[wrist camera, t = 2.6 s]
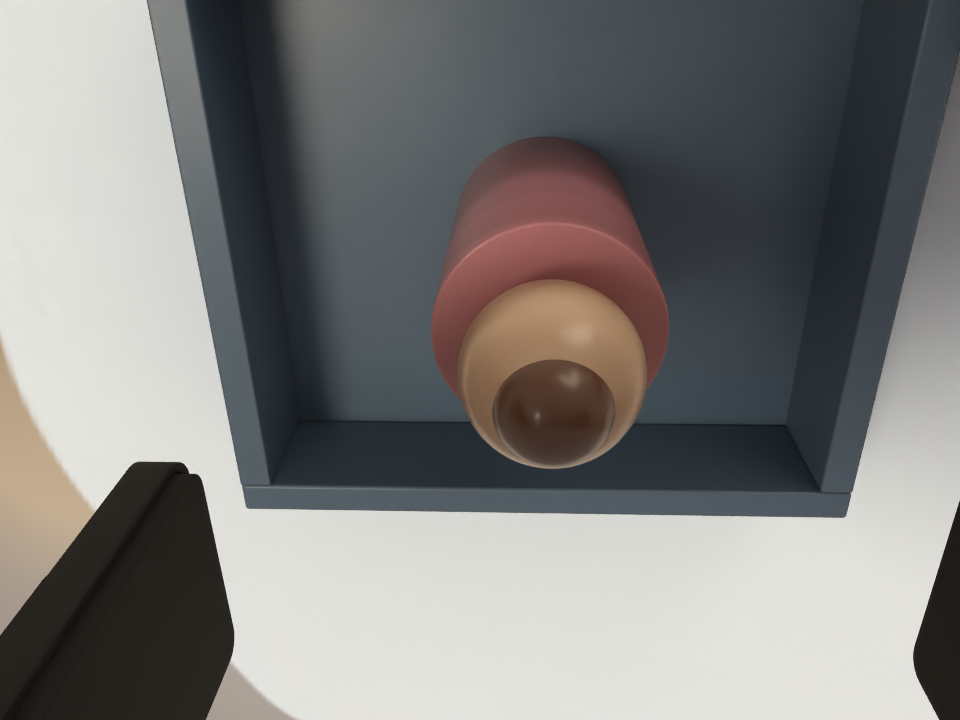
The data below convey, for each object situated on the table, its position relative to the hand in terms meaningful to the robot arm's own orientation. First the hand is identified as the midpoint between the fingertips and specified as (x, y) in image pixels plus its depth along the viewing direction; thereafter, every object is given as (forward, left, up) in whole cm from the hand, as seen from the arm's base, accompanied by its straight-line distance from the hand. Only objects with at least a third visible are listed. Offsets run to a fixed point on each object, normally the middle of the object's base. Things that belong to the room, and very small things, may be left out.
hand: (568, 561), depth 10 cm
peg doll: (0, 0, -12) cm, 12 cm away
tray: (0, 0, -13) cm, 13 cm away
